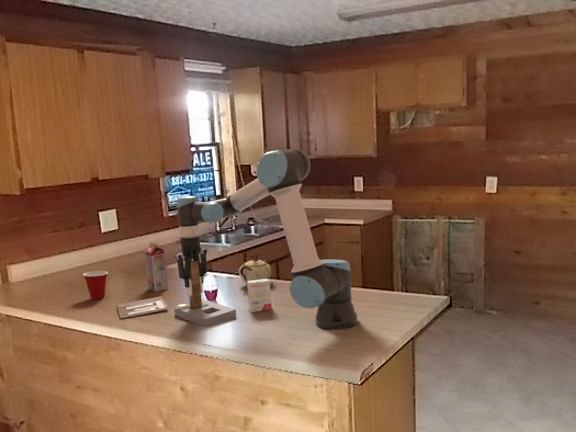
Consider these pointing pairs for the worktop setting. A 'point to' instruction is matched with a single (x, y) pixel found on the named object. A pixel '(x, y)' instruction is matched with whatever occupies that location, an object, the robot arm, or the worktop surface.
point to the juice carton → (156, 268)
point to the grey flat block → (205, 313)
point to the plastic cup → (96, 283)
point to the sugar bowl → (255, 269)
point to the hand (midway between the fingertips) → (195, 293)
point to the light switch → (144, 303)
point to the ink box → (259, 295)
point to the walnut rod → (195, 284)
